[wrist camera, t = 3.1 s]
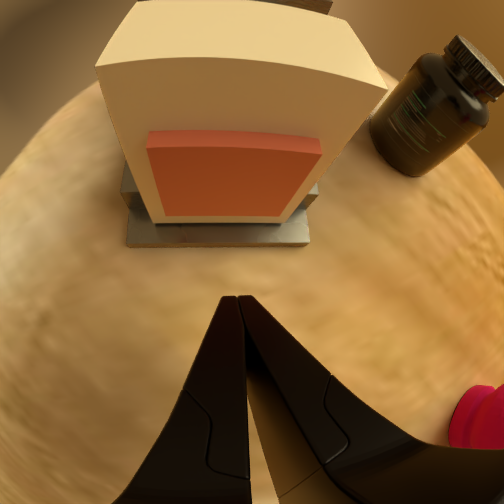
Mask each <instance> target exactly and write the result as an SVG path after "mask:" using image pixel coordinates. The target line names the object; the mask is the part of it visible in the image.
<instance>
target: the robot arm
mask: <svg viewBox="0 0 504 504" xmlns="http://www.w3.org/2000/svg"><path fill="white" fill-rule="evenodd" d="M330 375H331V373H330V372H329V371H328V370H327V369H326V368H325V367H324V366H323V365H322V364H321V363H320V362H319V361H318V360H317V359H316V358H315V357H314V356H313V355H312V354H311V353H310V352H308V351H307V350H306V349H305V348H304V347H303V346H302V345H301V344H300V343H299V342H298V341H297V340H296V339H295V338H294V337H293V336H292V335H291V334H290V333H289V332H288V331H287V330H286V329H285V328H284V327H283V326H282V325H281V324H280V323H279V322H278V321H277V320H276V319H275V318H274V317H273V316H272V315H271V314H270V313H269V312H268V311H267V310H266V309H265V308H264V307H263V306H262V305H261V304H260V303H259V302H258V301H257V300H256V299H255V298H254V297H253V296H252V295H241V296H238V297H236V296H223V297H221V299H220V301H219V304H218V306H217V308H216V311H215V313H214V315H213V318H212V320H211V322H210V325H209V327H208V329H207V332H206V334H205V336H204V339H203V341H202V343H201V346H200V348H199V350H198V353H197V355H196V357H195V360H194V362H193V364H192V367H191V369H190V371H189V374H188V376H187V378H186V381H185V383H184V385H183V389H182V390H181V392H180V394H179V397H178V399H177V402H176V404H175V406H174V408H173V410H172V412H171V414H170V417H169V419H168V421H167V422H166V424H165V426H164V428H163V430H162V431H161V433H160V435H159V437H158V438H157V440H156V442H155V443H154V445H153V447H152V448H151V450H150V451H149V453H148V455H147V456H146V458H145V459H144V461H143V463H142V464H141V466H140V467H139V469H138V471H137V472H136V474H135V475H134V477H133V478H132V480H131V481H130V483H129V484H128V486H127V487H126V488H125V490H124V491H123V492H122V493H121V494H120V496H119V497H118V498H117V499H116V500H115V501H114V502H113V503H112V504H252V496H251V482H250V457H249V433H248V408H247V396H248V400H249V403H250V407H251V410H252V414H253V418H254V421H255V425H256V428H257V432H258V435H259V439H260V442H261V445H262V449H263V452H264V456H265V459H266V462H267V465H268V469H269V472H270V475H271V478H272V481H273V485H274V488H275V491H276V494H277V497H278V500H279V503H280V504H504V448H503V449H471V448H458V447H447V446H439V445H433V444H429V443H426V442H423V441H420V440H418V439H416V438H414V437H413V436H411V435H409V434H408V433H406V432H405V431H403V430H402V429H400V428H399V427H398V426H396V425H395V424H393V423H392V422H390V421H389V420H388V419H386V418H385V417H383V416H382V415H380V414H379V413H378V412H376V411H375V410H373V409H372V408H371V407H370V406H368V405H367V404H366V403H364V402H363V401H362V400H361V399H359V398H358V397H357V396H356V395H354V394H353V393H352V392H351V391H350V390H349V389H348V388H346V387H345V386H344V385H343V384H342V383H341V382H340V381H339V380H338V379H337V378H336V377H335V376H334V375H331V376H330Z"/></svg>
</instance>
